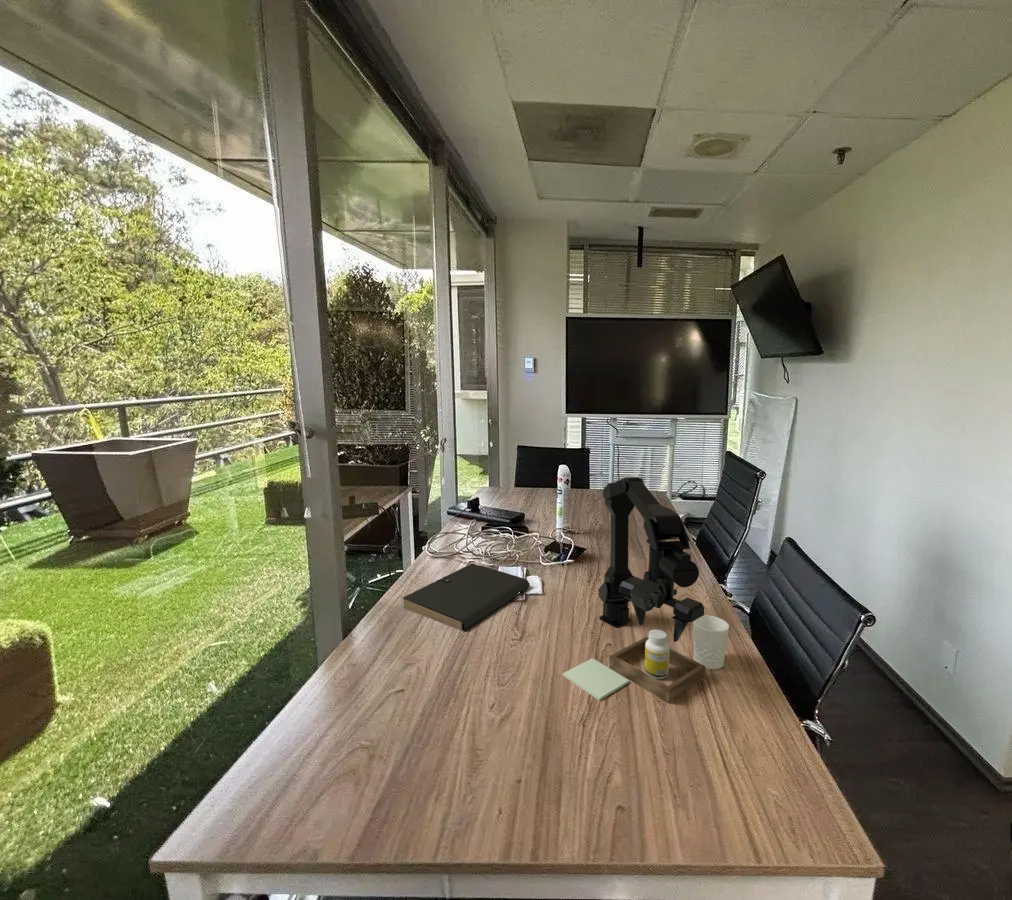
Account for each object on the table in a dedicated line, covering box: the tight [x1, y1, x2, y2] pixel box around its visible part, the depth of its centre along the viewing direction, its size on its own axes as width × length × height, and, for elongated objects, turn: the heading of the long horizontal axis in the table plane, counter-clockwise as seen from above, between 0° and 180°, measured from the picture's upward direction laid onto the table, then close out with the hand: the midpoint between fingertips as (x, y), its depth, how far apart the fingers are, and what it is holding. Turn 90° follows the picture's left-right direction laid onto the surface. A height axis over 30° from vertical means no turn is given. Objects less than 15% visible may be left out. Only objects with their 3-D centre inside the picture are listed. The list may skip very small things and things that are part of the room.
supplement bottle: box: [643, 629, 671, 680], centre depth 112 cm, size 5×5×10 cm
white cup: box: [692, 614, 730, 670], centre depth 117 cm, size 8×8×10 cm
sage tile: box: [562, 657, 630, 701], centre depth 110 cm, size 11×10×1 cm
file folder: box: [402, 563, 531, 632], centre depth 151 cm, size 33×4×24 cm
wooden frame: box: [608, 636, 706, 704], centre depth 113 cm, size 16×14×3 cm
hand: (658, 632), depth 111 cm, fingers open, 9 cm apart
